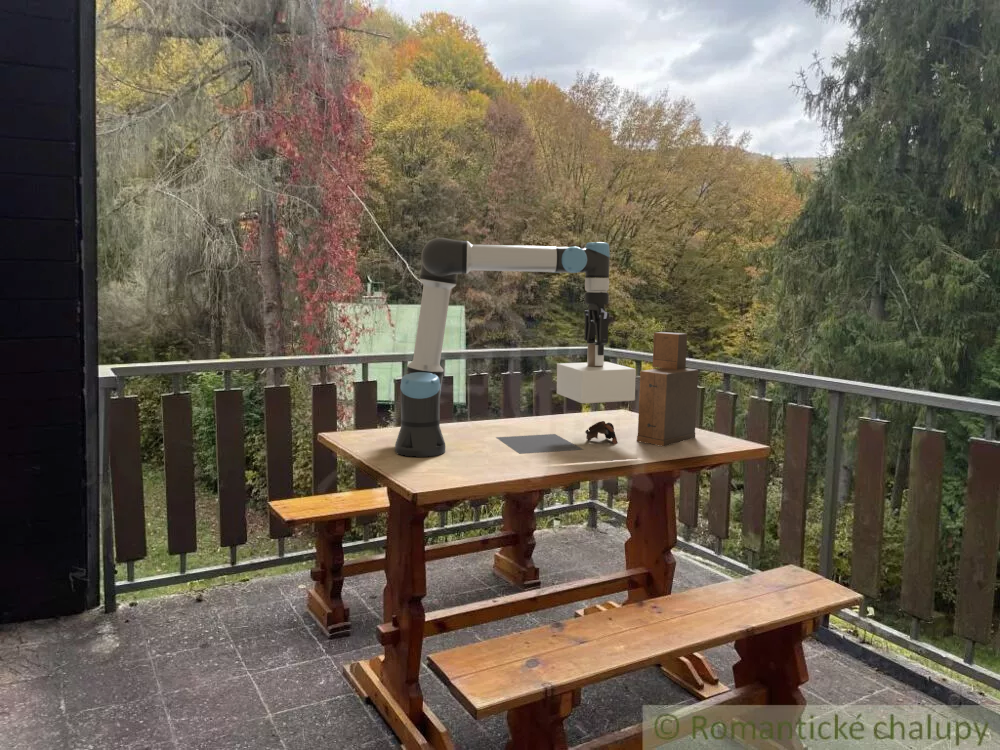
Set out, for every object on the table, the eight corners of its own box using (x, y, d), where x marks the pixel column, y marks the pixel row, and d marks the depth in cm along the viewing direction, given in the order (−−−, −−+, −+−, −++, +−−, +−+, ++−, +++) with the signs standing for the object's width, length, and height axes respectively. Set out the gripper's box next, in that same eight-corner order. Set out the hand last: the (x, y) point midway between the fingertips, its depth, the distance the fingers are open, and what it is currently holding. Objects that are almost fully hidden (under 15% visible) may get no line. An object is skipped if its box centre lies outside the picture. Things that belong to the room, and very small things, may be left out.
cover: (581, 403, 225) (582, 348, 222) (556, 393, 244) (557, 342, 241) (634, 400, 230) (636, 346, 228) (606, 390, 249) (607, 341, 247)
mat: (519, 455, 219) (519, 453, 219) (495, 439, 241) (495, 437, 241) (583, 451, 226) (583, 449, 226) (554, 435, 247) (555, 433, 247)
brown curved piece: (614, 449, 231) (602, 427, 230) (590, 458, 236) (577, 436, 235) (626, 433, 241) (614, 412, 240) (603, 442, 246) (591, 421, 245)
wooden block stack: (659, 431, 257) (663, 331, 253) (695, 438, 247) (700, 334, 243) (627, 439, 244) (631, 334, 239) (663, 446, 234) (668, 337, 229)
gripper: (620, 292, 225) (618, 367, 228) (595, 291, 242) (593, 360, 245) (598, 292, 223) (596, 368, 226) (574, 291, 240) (573, 361, 243)
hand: (595, 364), depth 236 cm, fingers closed on cover, 5 cm apart
